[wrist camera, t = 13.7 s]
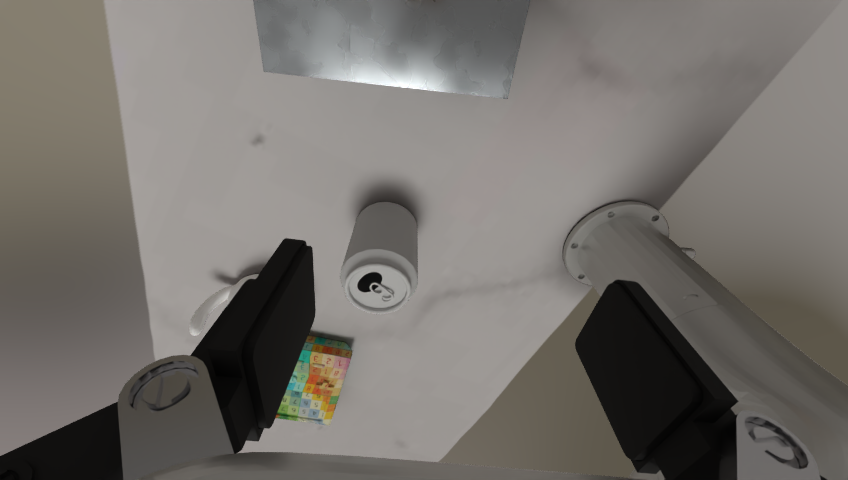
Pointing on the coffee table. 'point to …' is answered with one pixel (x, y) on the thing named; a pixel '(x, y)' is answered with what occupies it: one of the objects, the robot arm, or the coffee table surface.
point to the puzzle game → (316, 381)
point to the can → (381, 259)
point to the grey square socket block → (396, 42)
